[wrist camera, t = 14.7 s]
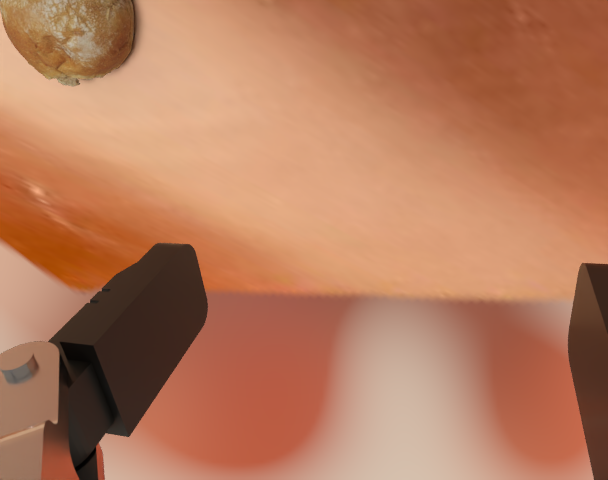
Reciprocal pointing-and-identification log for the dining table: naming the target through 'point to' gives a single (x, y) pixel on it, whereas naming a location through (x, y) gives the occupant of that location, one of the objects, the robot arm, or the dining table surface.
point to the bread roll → (70, 35)
